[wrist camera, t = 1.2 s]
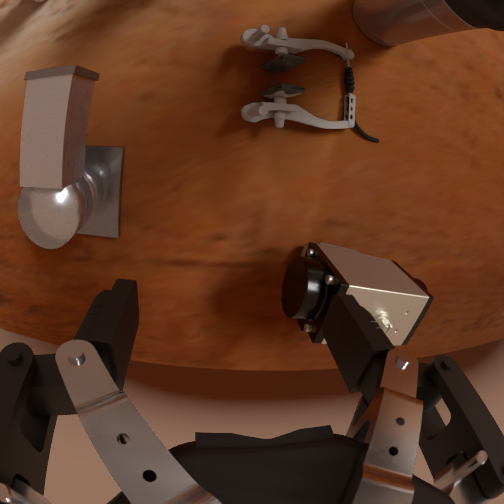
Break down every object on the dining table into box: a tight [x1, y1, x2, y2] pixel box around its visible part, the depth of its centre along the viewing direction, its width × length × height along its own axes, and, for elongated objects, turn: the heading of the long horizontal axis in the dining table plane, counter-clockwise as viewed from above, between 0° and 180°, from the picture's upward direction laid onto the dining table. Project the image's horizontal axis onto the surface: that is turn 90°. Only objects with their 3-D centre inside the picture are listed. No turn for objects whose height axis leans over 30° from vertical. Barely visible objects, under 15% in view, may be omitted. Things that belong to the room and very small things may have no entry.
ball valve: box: [282, 242, 434, 345], centre depth 35 cm, size 18×8×18 cm, turn 75°
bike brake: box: [240, 25, 379, 142], centre depth 29 cm, size 14×7×20 cm
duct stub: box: [77, 145, 125, 238], centre depth 31 cm, size 12×12×5 cm
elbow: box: [18, 65, 99, 249], centre depth 23 cm, size 19×8×6 cm, turn 169°
